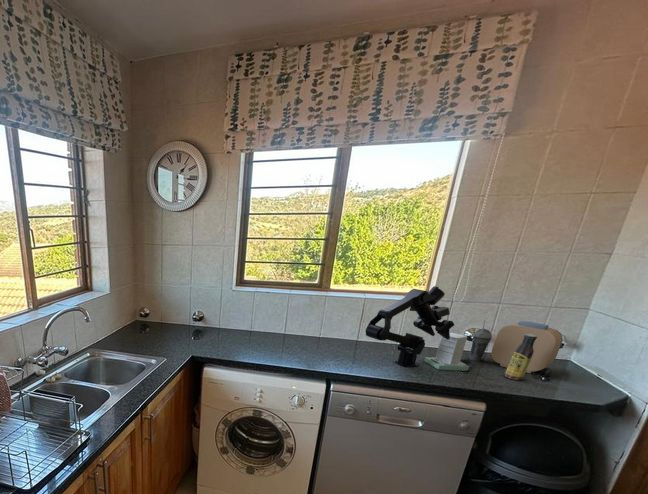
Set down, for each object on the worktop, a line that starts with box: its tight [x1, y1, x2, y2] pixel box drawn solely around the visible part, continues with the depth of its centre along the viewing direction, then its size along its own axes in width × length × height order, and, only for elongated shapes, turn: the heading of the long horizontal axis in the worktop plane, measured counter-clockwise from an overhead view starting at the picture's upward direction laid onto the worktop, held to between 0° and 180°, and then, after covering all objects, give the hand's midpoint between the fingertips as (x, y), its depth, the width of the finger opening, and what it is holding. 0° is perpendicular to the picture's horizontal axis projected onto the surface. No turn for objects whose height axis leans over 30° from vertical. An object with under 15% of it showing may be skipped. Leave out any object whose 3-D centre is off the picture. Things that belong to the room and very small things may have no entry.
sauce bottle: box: [504, 334, 537, 381], centre depth 173 cm, size 7×6×20 cm
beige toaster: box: [490, 320, 563, 374], centre depth 185 cm, size 21×10×22 cm, turn 32°
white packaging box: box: [434, 332, 468, 364], centre depth 188 cm, size 7×7×13 cm
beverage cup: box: [469, 319, 493, 362], centre depth 196 cm, size 7×7×20 cm
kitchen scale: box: [424, 356, 470, 372], centre depth 191 cm, size 13×12×2 cm
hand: (441, 337), depth 187 cm, fingers open, 9 cm apart
